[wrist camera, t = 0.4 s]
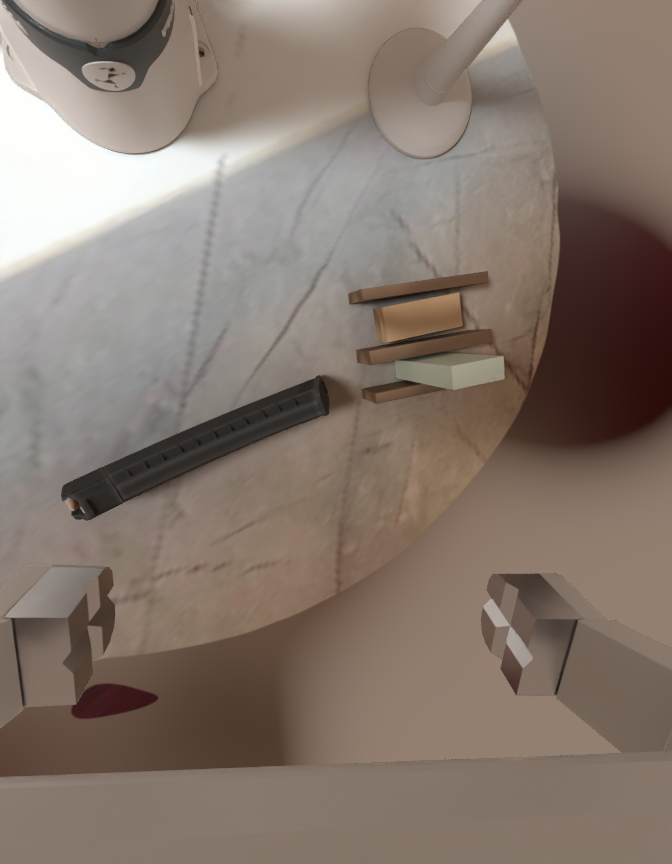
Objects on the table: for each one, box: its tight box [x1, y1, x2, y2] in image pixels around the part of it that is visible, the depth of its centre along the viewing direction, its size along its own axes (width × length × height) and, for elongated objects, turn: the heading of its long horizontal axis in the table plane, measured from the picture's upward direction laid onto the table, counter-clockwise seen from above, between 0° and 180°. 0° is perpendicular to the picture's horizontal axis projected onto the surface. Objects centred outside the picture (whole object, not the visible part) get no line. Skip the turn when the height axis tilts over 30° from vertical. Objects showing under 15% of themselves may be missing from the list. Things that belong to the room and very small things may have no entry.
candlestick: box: [368, 0, 522, 159], centre depth 35 cm, size 13×13×30 cm
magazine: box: [61, 375, 329, 521], centre depth 46 cm, size 17×3×30 cm
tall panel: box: [395, 352, 505, 390], centre depth 50 cm, size 2×6×14 cm, turn 99°
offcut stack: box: [373, 292, 463, 342], centre depth 53 cm, size 4×11×4 cm, turn 101°
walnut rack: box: [348, 271, 492, 404], centre depth 53 cm, size 13×16×5 cm
